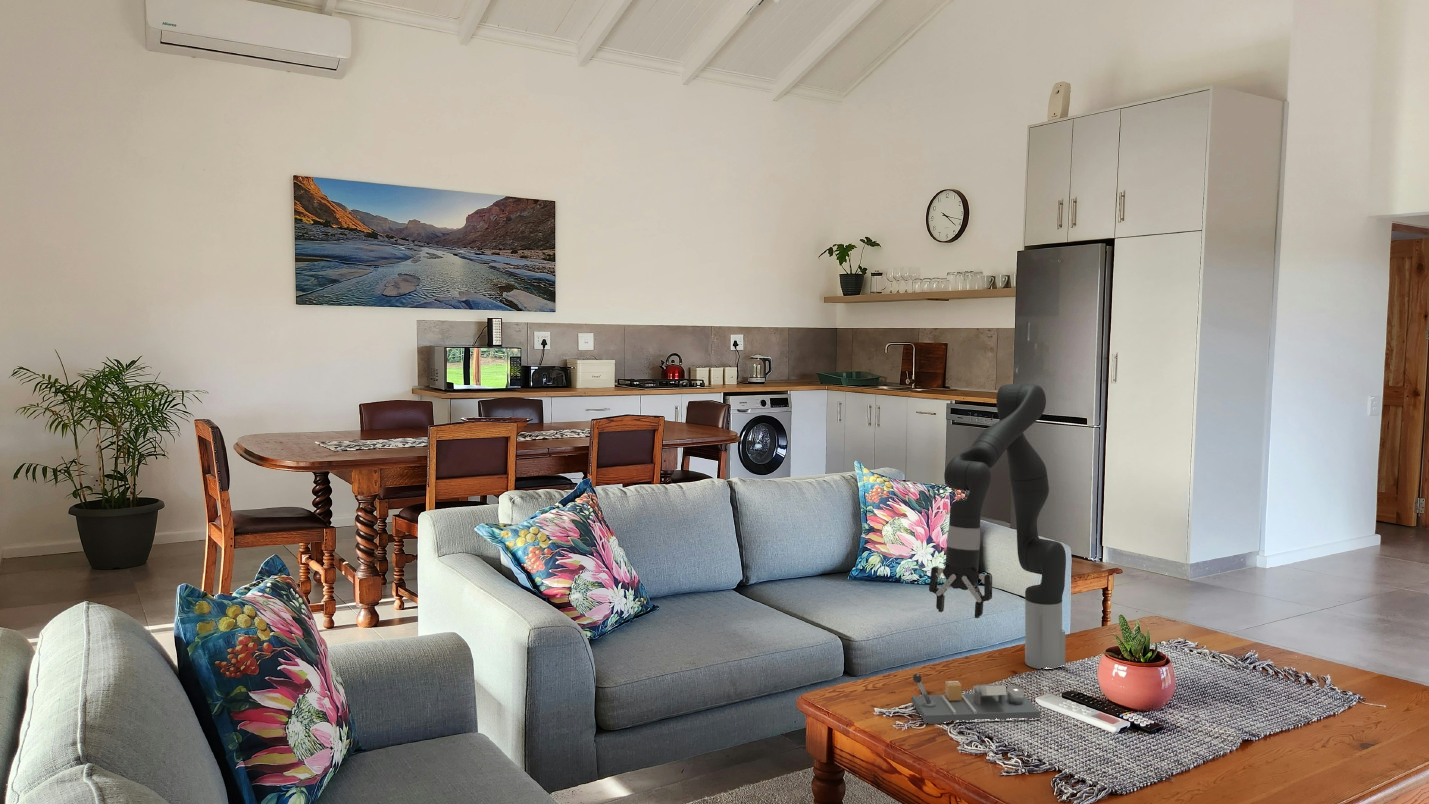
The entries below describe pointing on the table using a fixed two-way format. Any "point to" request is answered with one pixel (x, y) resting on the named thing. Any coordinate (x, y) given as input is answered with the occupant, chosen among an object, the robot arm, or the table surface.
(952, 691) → the slider
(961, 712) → the panel
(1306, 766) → the table surface
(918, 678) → the toggle
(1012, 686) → the button
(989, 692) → the block
